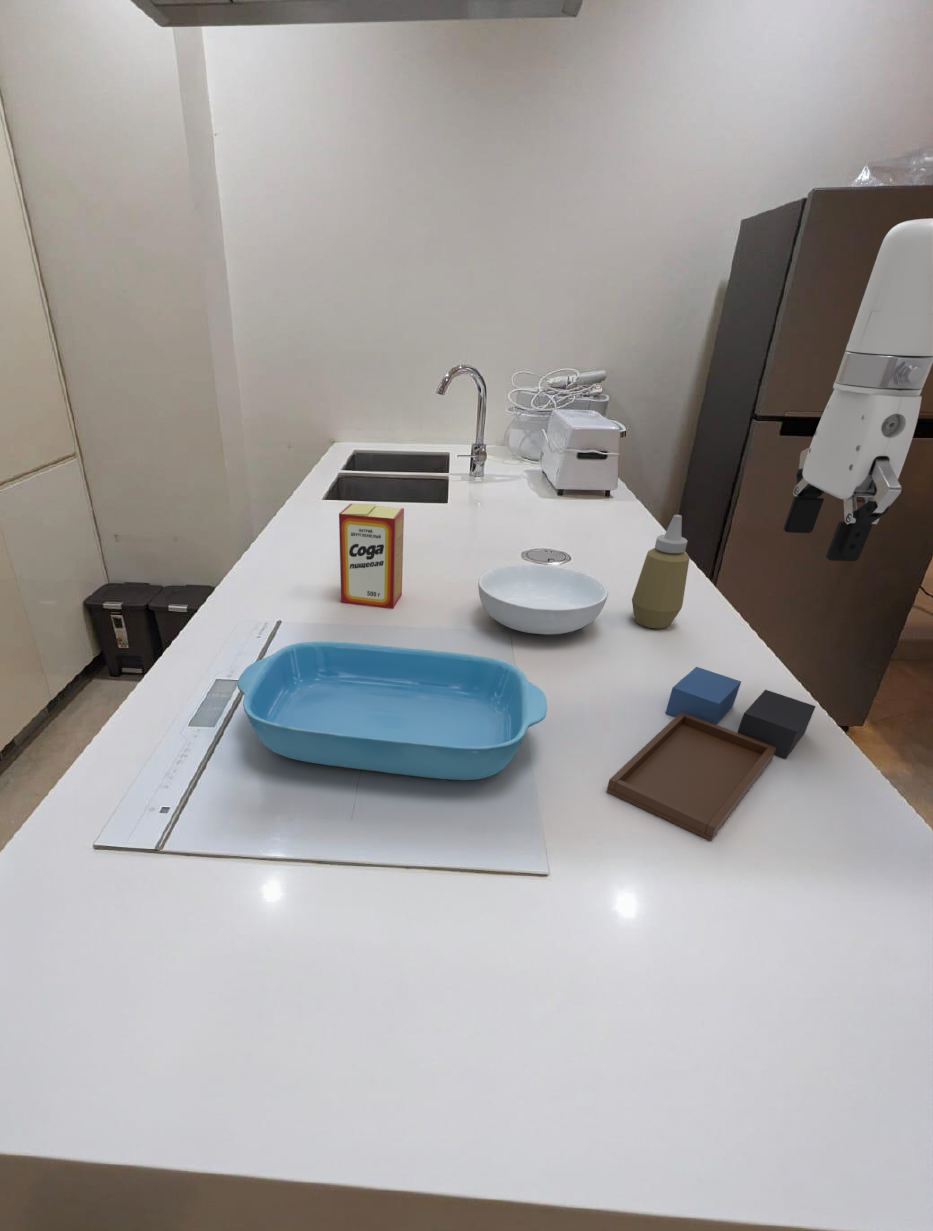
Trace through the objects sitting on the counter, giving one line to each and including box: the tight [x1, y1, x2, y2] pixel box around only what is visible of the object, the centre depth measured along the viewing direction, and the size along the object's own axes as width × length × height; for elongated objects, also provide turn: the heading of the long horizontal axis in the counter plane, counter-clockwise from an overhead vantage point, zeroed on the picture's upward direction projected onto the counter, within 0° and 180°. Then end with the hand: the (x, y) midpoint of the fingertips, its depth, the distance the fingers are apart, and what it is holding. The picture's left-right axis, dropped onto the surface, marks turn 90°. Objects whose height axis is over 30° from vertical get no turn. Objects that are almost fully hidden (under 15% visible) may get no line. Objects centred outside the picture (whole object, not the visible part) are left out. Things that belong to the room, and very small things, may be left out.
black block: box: [736, 689, 817, 760], centre depth 84 cm, size 6×8×4 cm
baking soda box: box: [338, 503, 405, 609], centre depth 116 cm, size 10×6×16 cm
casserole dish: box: [237, 640, 548, 781], centre depth 82 cm, size 37×22×7 cm, turn 81°
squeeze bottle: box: [631, 514, 690, 629], centre depth 109 cm, size 8×8×18 cm
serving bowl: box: [477, 563, 609, 635], centre depth 111 cm, size 21×21×7 cm
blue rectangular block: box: [665, 666, 742, 725], centre depth 89 cm, size 6×8×4 cm
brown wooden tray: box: [606, 712, 776, 842], centre depth 77 cm, size 12×20×2 cm, turn 138°
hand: (817, 545), depth 75 cm, fingers open, 9 cm apart
